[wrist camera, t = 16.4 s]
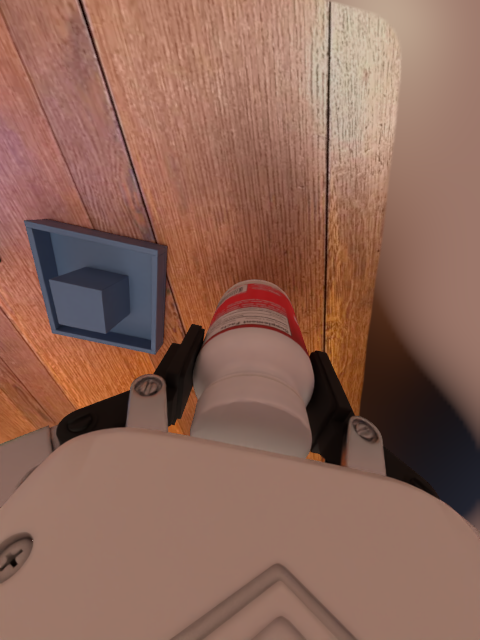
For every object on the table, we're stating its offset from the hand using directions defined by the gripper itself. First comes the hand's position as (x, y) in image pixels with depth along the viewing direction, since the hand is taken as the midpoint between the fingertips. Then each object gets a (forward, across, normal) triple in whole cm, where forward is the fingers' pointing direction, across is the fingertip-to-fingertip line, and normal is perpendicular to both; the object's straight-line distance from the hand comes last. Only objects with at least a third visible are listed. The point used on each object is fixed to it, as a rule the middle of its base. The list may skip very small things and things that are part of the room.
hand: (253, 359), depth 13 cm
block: (+13, +17, +5) cm, 22 cm away
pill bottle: (+6, 0, 0) cm, 6 cm away
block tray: (+14, +17, +5) cm, 22 cm away
